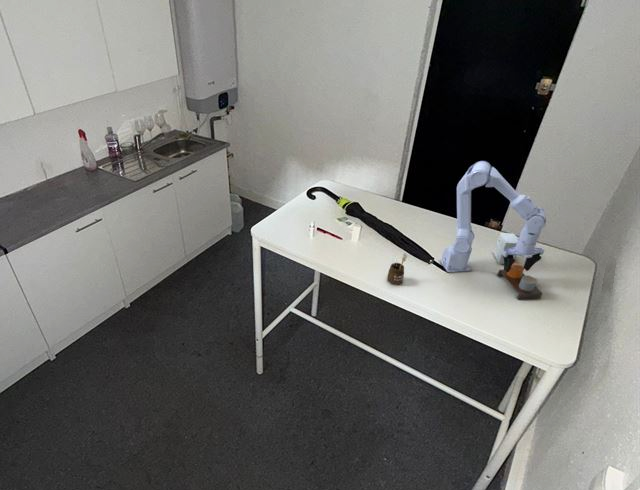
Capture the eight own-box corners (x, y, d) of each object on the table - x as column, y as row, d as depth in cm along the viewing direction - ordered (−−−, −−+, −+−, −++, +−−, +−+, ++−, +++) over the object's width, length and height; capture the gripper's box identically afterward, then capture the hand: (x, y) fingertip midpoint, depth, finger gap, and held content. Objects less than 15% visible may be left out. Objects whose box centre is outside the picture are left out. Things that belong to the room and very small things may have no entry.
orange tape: (511, 278, 155) (514, 270, 153) (504, 271, 159) (507, 263, 157) (523, 278, 155) (527, 270, 153) (516, 270, 159) (519, 262, 157)
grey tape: (523, 292, 149) (526, 283, 147) (516, 283, 153) (519, 275, 150) (536, 291, 149) (539, 283, 147) (528, 283, 153) (532, 275, 150)
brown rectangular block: (518, 299, 149) (520, 294, 148) (497, 275, 162) (499, 269, 160) (539, 298, 149) (542, 292, 148) (516, 273, 162) (519, 268, 160)
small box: (513, 265, 167) (521, 243, 161) (498, 263, 168) (506, 242, 162) (507, 254, 173) (515, 233, 167) (493, 253, 174) (500, 232, 168)
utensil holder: (384, 278, 163) (388, 254, 156) (396, 274, 165) (401, 249, 158) (393, 286, 159) (398, 261, 152) (406, 282, 161) (411, 257, 154)
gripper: (514, 247, 145) (502, 277, 153) (554, 245, 145) (541, 275, 153) (503, 237, 151) (493, 266, 158) (542, 234, 151) (530, 264, 158)
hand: (516, 269), depth 156 cm, fingers open, 7 cm apart
